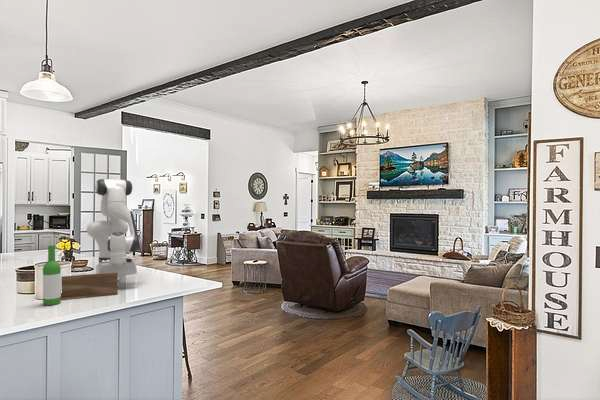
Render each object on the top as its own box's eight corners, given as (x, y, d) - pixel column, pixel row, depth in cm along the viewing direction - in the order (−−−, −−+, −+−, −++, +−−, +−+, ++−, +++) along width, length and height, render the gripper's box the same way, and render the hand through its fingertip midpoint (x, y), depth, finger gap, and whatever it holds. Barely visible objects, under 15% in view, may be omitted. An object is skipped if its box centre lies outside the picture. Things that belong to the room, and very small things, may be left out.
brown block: (62, 294, 212) (62, 273, 212) (118, 289, 224) (117, 269, 224) (58, 300, 200) (58, 277, 200) (117, 294, 212) (117, 273, 212)
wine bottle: (53, 301, 199) (52, 244, 199) (64, 302, 196) (64, 244, 196) (39, 305, 191) (38, 246, 191) (50, 306, 189) (50, 246, 189)
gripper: (98, 261, 218) (98, 285, 218) (136, 259, 226) (136, 282, 226) (99, 260, 224) (99, 283, 224) (136, 257, 232) (136, 280, 232)
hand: (118, 282), depth 225 cm, fingers closed
